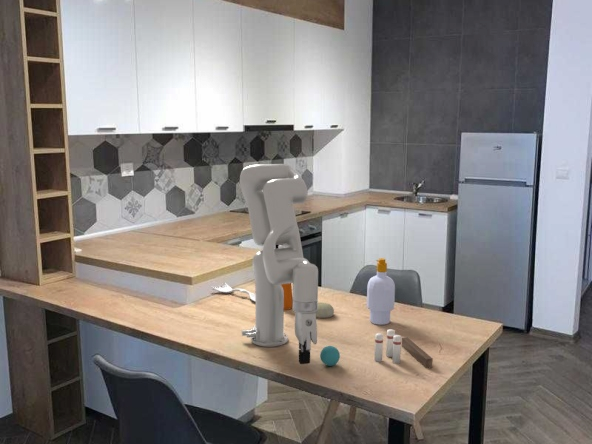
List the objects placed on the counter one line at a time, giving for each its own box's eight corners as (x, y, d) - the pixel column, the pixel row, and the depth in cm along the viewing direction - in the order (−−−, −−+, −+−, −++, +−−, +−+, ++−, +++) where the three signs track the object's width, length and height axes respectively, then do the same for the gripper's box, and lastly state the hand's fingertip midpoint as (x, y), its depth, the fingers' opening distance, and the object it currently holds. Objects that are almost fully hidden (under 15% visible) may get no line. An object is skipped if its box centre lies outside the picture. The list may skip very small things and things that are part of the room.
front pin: (376, 362, 185) (377, 336, 184) (373, 359, 188) (374, 333, 186) (383, 361, 186) (384, 335, 184) (380, 358, 188) (381, 332, 187)
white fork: (223, 288, 263) (223, 281, 262) (280, 302, 245) (280, 294, 244) (209, 293, 256) (209, 285, 255) (267, 307, 237) (267, 299, 237)
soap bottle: (360, 322, 221) (362, 259, 217) (376, 315, 229) (378, 254, 224) (383, 328, 214) (385, 263, 210) (399, 321, 222) (401, 259, 218)
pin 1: (387, 357, 189) (388, 332, 187) (384, 354, 191) (385, 329, 190) (395, 356, 189) (396, 331, 188) (391, 353, 192) (393, 328, 190)
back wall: (426, 368, 181) (426, 359, 180) (401, 346, 198) (402, 337, 198) (432, 367, 181) (432, 358, 181) (407, 345, 199) (407, 337, 198)
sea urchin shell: (317, 304, 235) (329, 294, 231) (328, 321, 233) (341, 310, 228) (303, 310, 228) (315, 299, 224) (314, 327, 226) (327, 316, 221)
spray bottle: (269, 311, 232) (269, 245, 227) (279, 303, 242) (279, 240, 237) (285, 313, 229) (286, 247, 225) (295, 305, 239) (296, 242, 235)
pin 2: (394, 363, 184) (395, 338, 182) (390, 360, 186) (392, 335, 185) (401, 363, 185) (402, 337, 183) (398, 360, 187) (399, 334, 185)
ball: (323, 369, 179) (323, 351, 178) (317, 361, 185) (318, 343, 184) (342, 368, 181) (342, 349, 180) (336, 360, 186) (336, 342, 185)
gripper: (323, 312, 171) (322, 371, 174) (311, 296, 185) (310, 352, 188) (298, 313, 169) (297, 374, 172) (287, 298, 184) (287, 354, 187)
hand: (304, 362), depth 180 cm, fingers closed
